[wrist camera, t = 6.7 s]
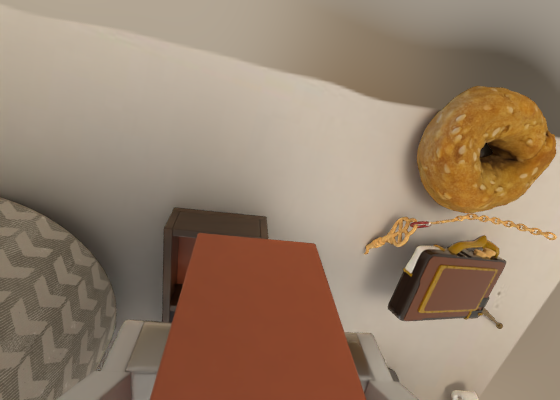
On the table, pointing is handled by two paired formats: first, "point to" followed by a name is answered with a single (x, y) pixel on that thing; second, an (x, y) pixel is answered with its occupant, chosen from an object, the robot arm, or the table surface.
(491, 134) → the bagel
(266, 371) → the terracotta block
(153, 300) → the table surface
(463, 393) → the skeleton
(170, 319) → the sorter
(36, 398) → the planter
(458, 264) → the brown book ornament
